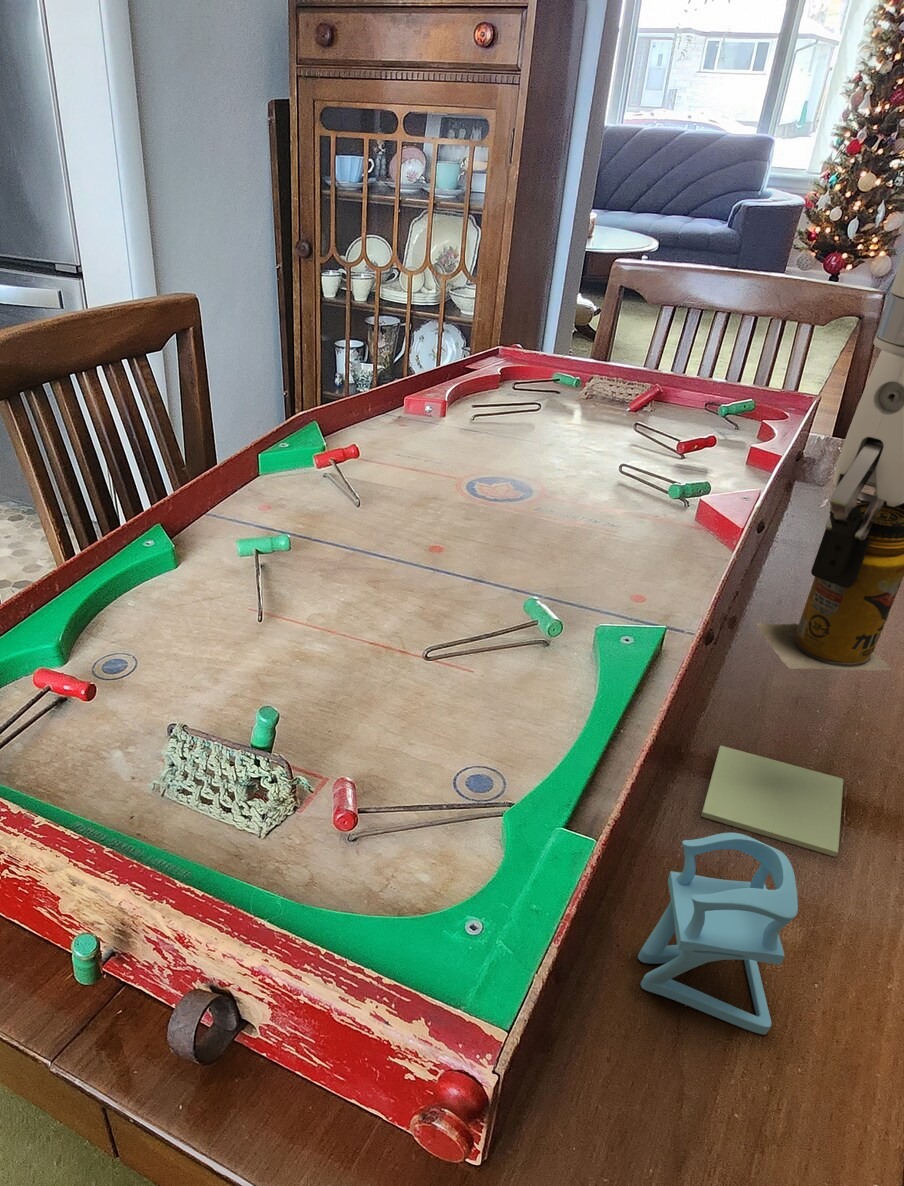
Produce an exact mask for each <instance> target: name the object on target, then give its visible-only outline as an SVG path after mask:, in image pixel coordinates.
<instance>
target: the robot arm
mask: <svg viewBox="0 0 904 1186" xmlns="http://www.w3.org/2000/svg"><path fill="white" fill-rule="evenodd" d="M902 252H903V253H902V255H901V259H900V262H899V265H898V267H897V271H896V274H895V276H894V279H893V283H892V285H891V288H890V292H889V294H888V296H887V299H886V303H885V306H884V309H883V312H882V315H881V318H880V321H879V325H878V326H877V329H876V333H875V336H874V339H873V342H872V344H873V345H874V346H875V347H876V348H878V349H879V350H881V351H880V353H879V355H878V357H877V359H876V361H875V363H874V366H873V368H872V371H871V373H870V375H869V378H868V379H867V382H866V385H865V387H864V389H863V391H862V392H863V393H862V395H861V397H860V399H859V401H858V404H857V406H856V409H855V412H854V414H853V417H852V420H851V423H850V424H849V428H848V430H847V433H846V436H845V438H844V441H843V444H842V446H841V449H840V452H839V453H840V454H839V456H838V458H837V459H838V460H837V463H836V467H835V469H834V475H833V478H832V483H833V486H834V488H835V489H834V491H833V492H832V494H831V496H830V499H829V504H830V508H829V517H828V518H827V521H826V522H825V527H824V528H825V530H824V533H823V535H822V538H821V541H820V544H819V547H818V550H817V552H816V555H815V559H814V562H813V564H812V568H811V570H810V573H811V575H812V576H813V577H814V578H815V577H817V578H820V579H823V580H825V581H828V582H831V583H834V584H836V585H839V586H842V587H845V588H849V587H851V586H852V585H854V583H855V581H856V578H857V576H858V573H859V570H860V568H861V565H862V563H863V560H864V557H865V555H866V552H867V549H868V547H869V544H870V541H871V539H870V538H867V535H868V533H869V531H870V529H871V527H872V525H873V523H874V521H875V519H876V517H877V515H878V513H879V511H880V509H881V507H882V505H883V504H886V505H888V506H891V507H898V508H901V509H903V510H904V251H902ZM865 486H868V487H870V488H874V490H873V494H870V493H867V492H864V491H862V490H863V489H864V488H865ZM858 502H863V503H867V504H870V505H869V507H868V509H867V511H866V513H865V515H864V517H863V519H862V515H861V509H860V508H857V507H856V505H857V503H858Z"/></svg>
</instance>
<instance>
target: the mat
mask: <svg viewBox="0 0 904 1186" xmlns="http://www.w3.org/2000/svg"><path fill="white" fill-rule="evenodd" d="M712 769H713V770H712V774H711V776H710V777H711V778H710V781H709V784H708V787H707V792H706V796H705V800H704V804H703V807H702V810H701V814H700V817H701V818H704V819H708V820H711V821H715V822H717V823H721V824H725V825H727V826H732V827H735V828H738V829H741V830H744V831H747V832H751V833H754V834H757V835H760V836H764V837H767V838H771V839H774V840H777V841H781V842H784V843H788V844H790V845H794V846H798V847H800V848H804V849H807V850H810V851H814V852H817V853H821V854H824V855H826V856H831V857H834V858H836V857H837V856H838V854H839V848H840V833H841V821H842V807H843V806H842V805H843V792H844V791H843V790H844V778H841V777H839V776H838V777H837V776H834V775H831V774H826V773H823V772H821V771H820V772H819V771H816V770H812V769H808V768H806V767H801V766H798V765H795V764H790V763H787V762H783V761H779V760H775V759H772V758H770V757H769V758H768V757H765V756H762V755H757V754H754V753H750V752H746V751H743V750H739V749H735V748H732V747H728V746H724V745H719V747H718V751H717V755H716V759H715V762H714V766H713V768H712Z"/></svg>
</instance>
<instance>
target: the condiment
mask: <svg viewBox="0 0 904 1186" xmlns="http://www.w3.org/2000/svg"><path fill="white" fill-rule="evenodd" d="M869 505H870V504H867V503H863V502H860V501H857V505H856V507H857V508H860V509H861V515H862V519H863V517H864V515H865V513H866V511H867V509H868V507H869ZM867 538H870V539H871V541H870V544H869V547H868V549H867V552H866V555H865V557H864V560H863V563H862V565H861V568H860V570H859V573H858V576H857V578H856V581H855V583H854V585H852V586H851V587H849V588H845V587H842V586H839V585H836V584H834V583H831V582H828V581H825V580H823V579H820V578H817V577H815V576H814V578H813V581H812V584H811V587H810V590H809V593H808V595H807V599H806V602H805V605H804V608H803V611H802V613H801V617H800V620H799V623H781V624H778V623H770V622H762V623H761V622H755V625H756V627H757V629H758V630H759V632H760V633H761V635H762V636H763V637H764V638H765V641H766V642H767V643H768V645H769V646H770V647H771V648H772V651H773V652H774V653H776V654H777V655H778V657H779V658H780V660H781V661H782V663H784V664H785V666H786V667H787V668H788V669H789V670H796V669H803V670H811V669H816V670H826V669H827V670H838V671H840V670H841V671H879V672H881V671H890V670H893V668H892V667H891V666H890V665H889V664H888V663H887V662H886V661H885V660H884V659H883V658H882V657H880V656H879V654H877V652H876V651H875V649H876V646H877V645H878V644H877V643H878V642H879V639H880V637H881V634H882V631H883V630H884V627H885V624H886V622H887V621H888V617H889V614H890V611H891V609H892V607H893V604H894V601H895V600H896V596H897V593H898V592H899V589H900V587H901V584H902V582H903V579H904V510H903V509H901V508H898V507H891V506H888V505H886V504H883V505H882V507H881V509H880V511H879V513H878V515H877V517H876V519H875V521H874V523H873V525H872V527H871V529H870V531H869V533H868V535H867Z"/></svg>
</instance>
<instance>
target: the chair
mask: <svg viewBox="0 0 904 1186" xmlns="http://www.w3.org/2000/svg"><path fill="white" fill-rule="evenodd" d="M681 843H682V847H683V852H684V864H683V865H684V866H683V869H682V871H681V872H679V871H672V870H671V871H670V872H669V875H668V878H667V884H668V885H667V886H668V891H669V892H668V893H669V896H670V901H669V903H668V904H667V907H666V908H665V910H664V912H663V914H662V915H661V917H660V919H659V920H658V922H657V923H656V925H655V927H654V928H653V929H652V932H651V933H650V935H649V936H648V938H647V939H646V941H645V942H644V944H643V945H642V947H641V948H640V950H639V952H638V955H637V959H638V960H639V961H640V962H641V963H643V964H649V965H650V964H651V965H659V964H661V965H660V966H658V967H656V968H654V969H652V970H650V971H648V972H646V973H645V974H644V976H643V978H642V980H641V981H640V983H639V984H640V988H641V989H642V990H644V991H646V992H649V993H651V994H656V995H659V996H660V997H661V996H662V997H665V998H667V999H669V1000H673V1001H675V1002H677V1003H680V1004H683V1005H685V1006H688V1007H690V1008H693V1009H694V1010H698V1011H699V1012H701V1013H705V1014H707V1015H709V1016H711V1017H715V1018H717V1019H719V1020H721V1021H724V1022H726V1023H729V1024H731V1025H734V1026H736V1027H739V1028H741V1029H744V1030H747V1031H749V1032H752V1033H755V1034H758V1035H764V1036H765V1035H767V1034H768V1033H769V1030H770V1029H771V1027H772V1024H773V1023H772V1018H771V1014H770V1011H769V1007H768V1003H767V998H766V994H765V990H764V985H763V982H762V981H763V980H762V977H761V973H760V968H759V963H765V964H770V965H771V964H772V965H777V966H781V965H782V963H783V961H784V959H785V957H786V956H785V951H784V948H783V943H782V940H781V937H780V934H779V933H780V932H781V931H782V930H783V929H784V928H785V927H786V926H787V925H789V923H791V922H792V921H793V920H794V919H795V918H796V917H797V914H798V911H799V901H798V900H799V899H798V889H797V888H798V887H797V882H796V875H795V871H794V868H793V866H792V863H791V862H790V859H789V858H788V857H787V855H786V854H785V853H784V852H783V851H781V850H779V849H778V848H775V847H773V846H771V845H768V844H767V843H764V842H762V841H760V840H758V839H756V838H753V837H752V836H749V835H746V834H743V833H738V832H722V833H716V834H713V835H709V836H705V837H701V838H696V839H684V840H682V842H681ZM720 850H734V851H737V852H742V853H744V854H747V855H748V856H750V857H752V858H754V859H755V860H756V861H758V862H759V863H761V864H759V867H758V868H757V870H756V872H755V873H754V874H753V876H752V878H751V880H750V881H743V880H732V879H723V878H715V877H707V876H703V875H698V874H696V870H697V869H696V868H697V866H696V865H697V864H696V857H695V856H697V855H701V854H704V853H708V852H713V851H720ZM769 874H770V875H771V877H772V880H773V884H774V887H775V889H768V887H767V884H766V880H767V878H768V876H769ZM673 936H675V939H676V940H675V941H676V944H671V945H670V944H669V943H670V941H671V939H672V938H673ZM716 961H743V963H744V967H745V971H746V976H747V980H748V985H749V991H750V994H751V998H752V1004H753V1008H754V1012H755V1014H752V1013H750V1012H748V1011H746V1010H743V1009H741V1008H738V1007H737V1006H733V1005H732V1004H730V1003H727V1002H725V1001H722V1000H720V999H718V998H715V997H714V996H712V995H709V994H707V993H704V992H702V991H699V990H698V989H696V988H693V987H691V986H688V985H686V984H683V983H681V982H679V981H676V980H675V979H674V978H677V977H678V976H679V975H682V974H684V973H685V972H688V971H690V970H692V969H695V968H698V967H700V966H702V965H704V964H709V963H713V962H716ZM758 962H759V963H758Z"/></svg>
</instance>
